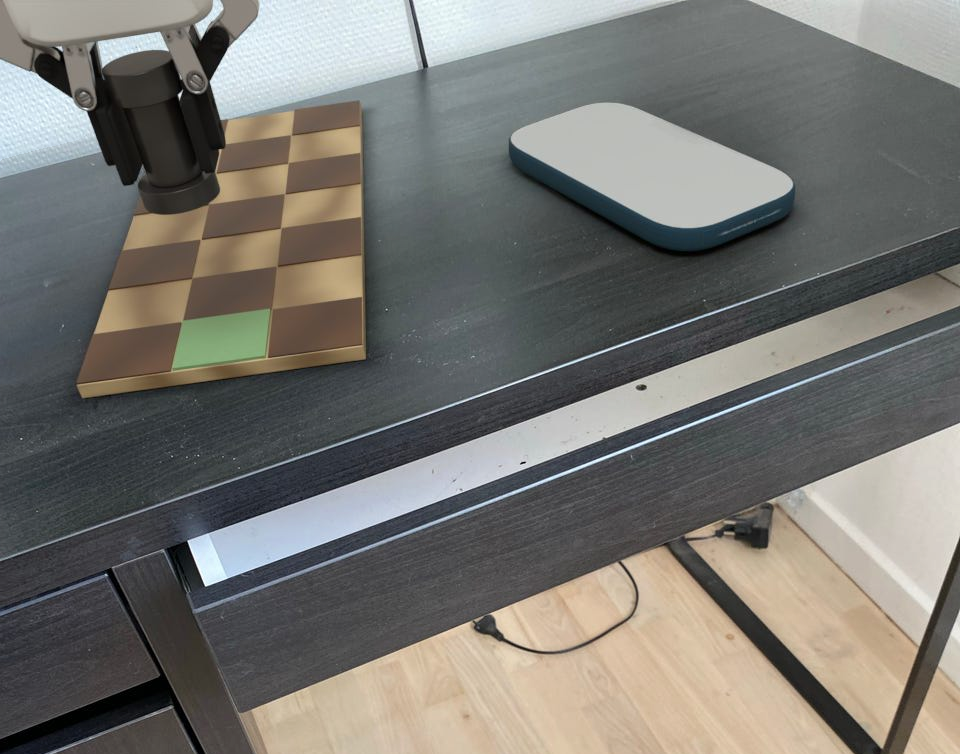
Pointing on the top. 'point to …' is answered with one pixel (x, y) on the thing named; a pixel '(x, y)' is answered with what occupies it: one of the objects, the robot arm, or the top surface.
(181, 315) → the chessboard
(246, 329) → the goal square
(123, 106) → the rook
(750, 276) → the top surface
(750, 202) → the external hard drive
